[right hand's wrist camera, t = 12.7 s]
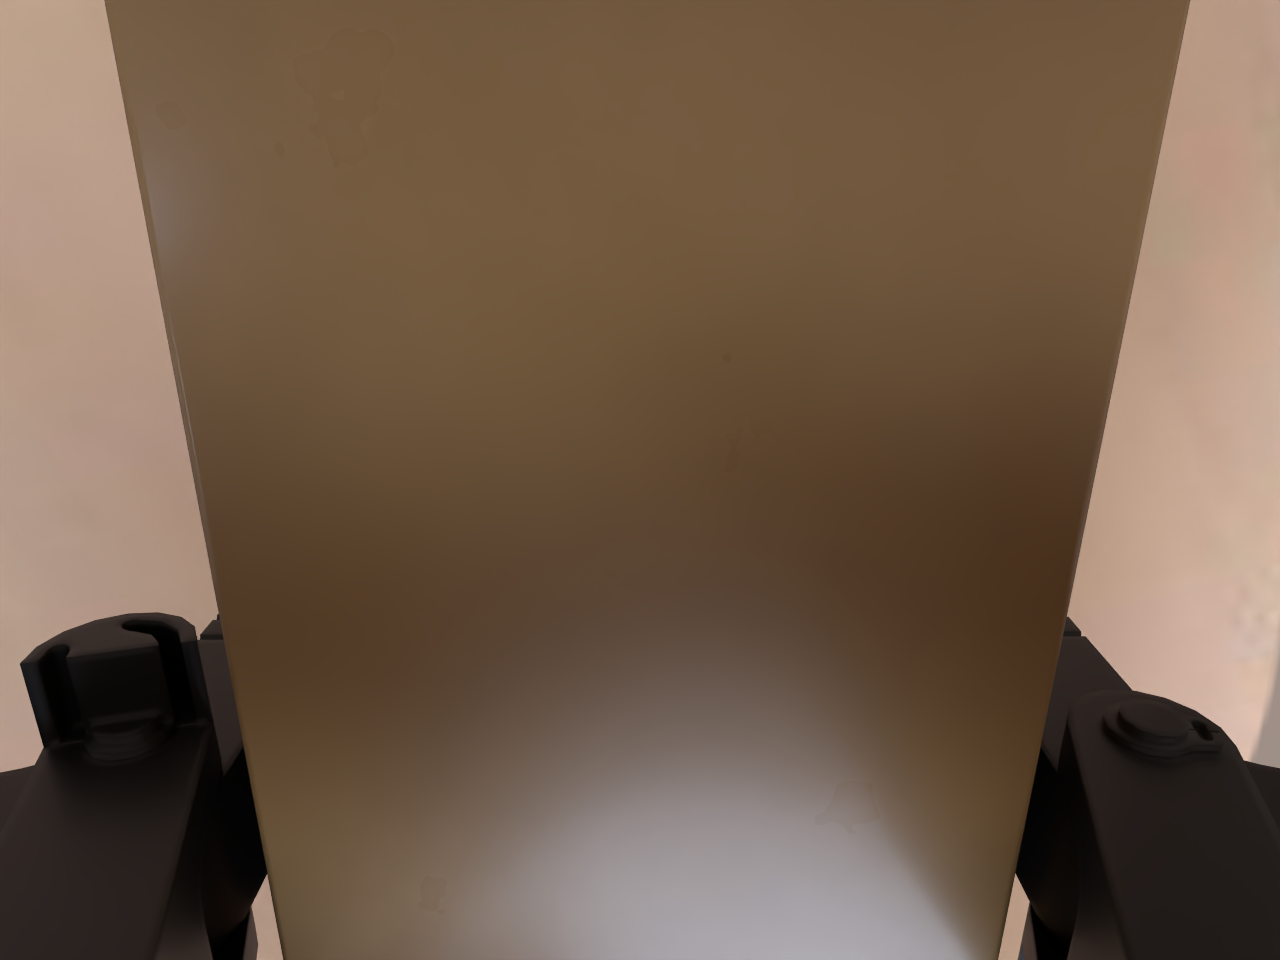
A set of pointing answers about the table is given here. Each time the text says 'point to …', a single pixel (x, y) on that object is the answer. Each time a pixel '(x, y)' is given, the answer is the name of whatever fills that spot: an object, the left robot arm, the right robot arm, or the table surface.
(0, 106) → the table surface
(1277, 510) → the table surface
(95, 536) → the table surface
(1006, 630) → the beam
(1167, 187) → the table surface
